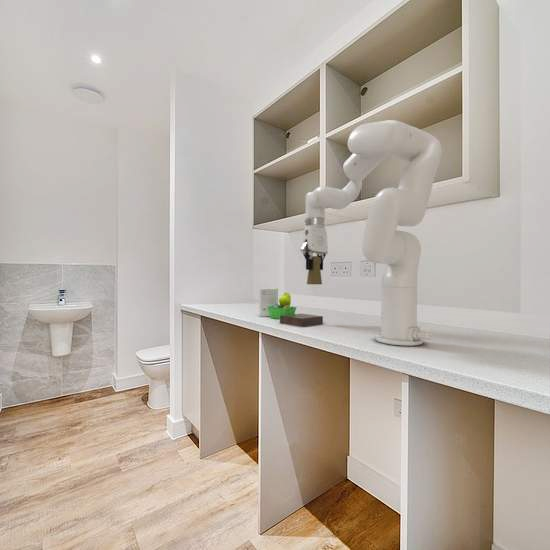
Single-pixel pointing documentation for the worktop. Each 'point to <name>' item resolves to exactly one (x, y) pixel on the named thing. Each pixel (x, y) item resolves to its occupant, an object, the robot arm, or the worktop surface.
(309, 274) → the olive tapered cylinder
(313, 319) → the block
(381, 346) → the worktop surface
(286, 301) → the fruit basket
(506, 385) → the worktop surface
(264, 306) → the small box
